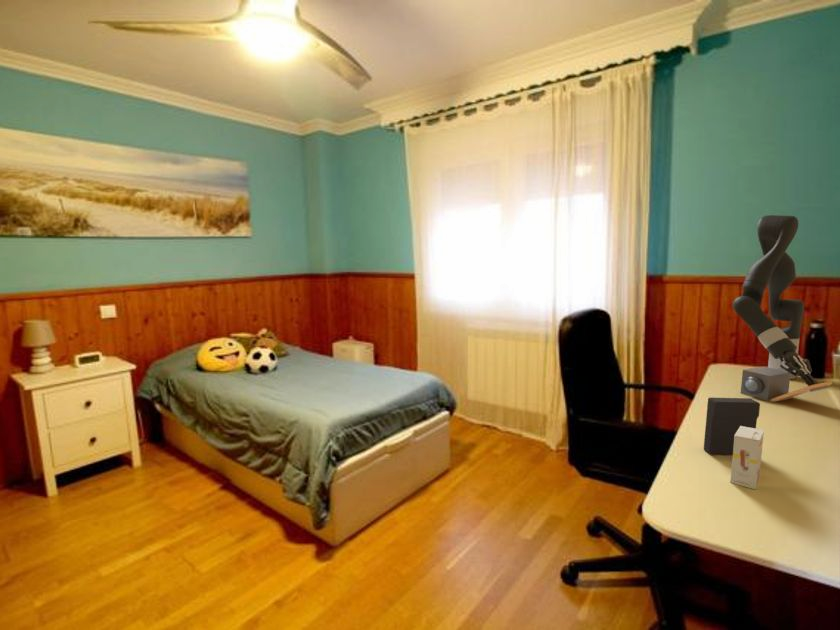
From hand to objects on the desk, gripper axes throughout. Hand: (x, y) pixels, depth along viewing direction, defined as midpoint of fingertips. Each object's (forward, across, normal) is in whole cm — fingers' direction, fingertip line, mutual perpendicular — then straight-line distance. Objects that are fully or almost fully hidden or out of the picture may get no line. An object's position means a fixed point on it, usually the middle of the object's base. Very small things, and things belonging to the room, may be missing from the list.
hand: (813, 385), depth 145 cm
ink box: (+21, -68, -8) cm, 71 cm away
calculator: (+13, -58, 0) cm, 59 cm away
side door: (-1, 0, +12) cm, 12 cm away
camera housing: (-4, -1, +17) cm, 17 cm away
